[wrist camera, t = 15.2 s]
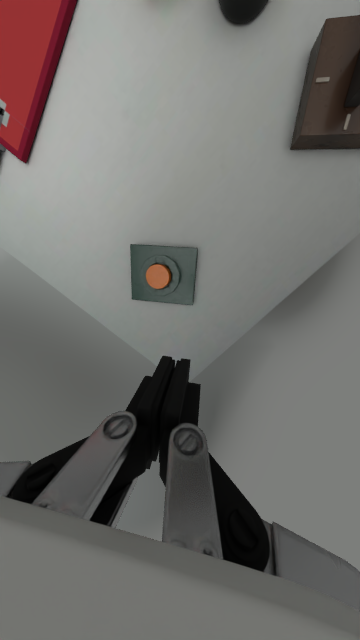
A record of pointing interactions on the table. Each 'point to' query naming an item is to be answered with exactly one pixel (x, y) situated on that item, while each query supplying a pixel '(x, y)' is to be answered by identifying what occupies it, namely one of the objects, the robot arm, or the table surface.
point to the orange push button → (158, 276)
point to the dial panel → (330, 89)
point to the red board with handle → (28, 65)
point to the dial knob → (354, 87)
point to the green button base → (180, 267)
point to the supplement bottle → (242, 9)
